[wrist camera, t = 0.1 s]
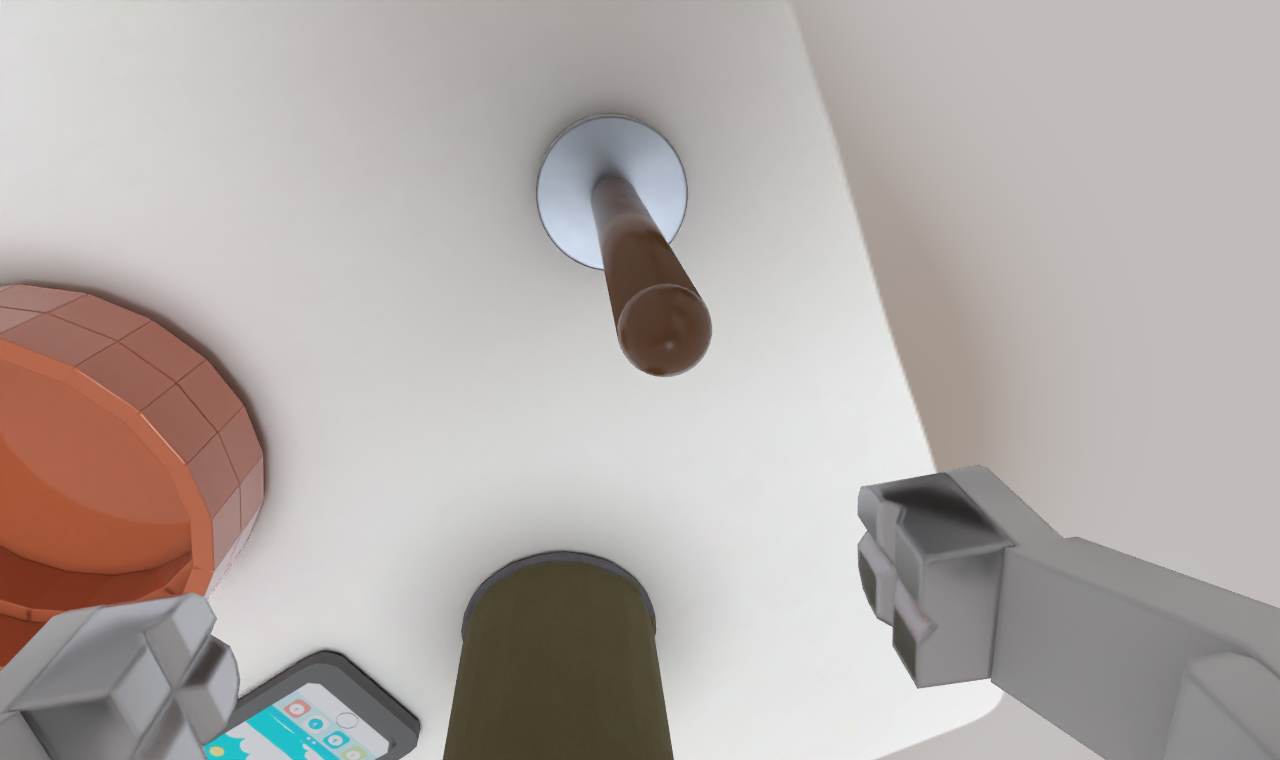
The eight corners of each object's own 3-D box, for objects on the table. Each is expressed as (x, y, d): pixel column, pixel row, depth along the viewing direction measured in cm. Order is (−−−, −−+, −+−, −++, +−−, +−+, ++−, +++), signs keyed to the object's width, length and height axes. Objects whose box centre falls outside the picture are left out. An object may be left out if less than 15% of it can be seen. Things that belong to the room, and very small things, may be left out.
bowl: (-195, 311, 29) (-374, 367, 23) (197, 254, 29) (112, 295, 24) (-5, 611, 35) (-111, 711, 29) (314, 559, 36) (268, 648, 30)
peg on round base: (525, 124, 29) (465, 200, 11) (672, 103, 29) (832, 147, 12) (551, 269, 31) (535, 513, 14) (687, 249, 31) (838, 464, 14)
